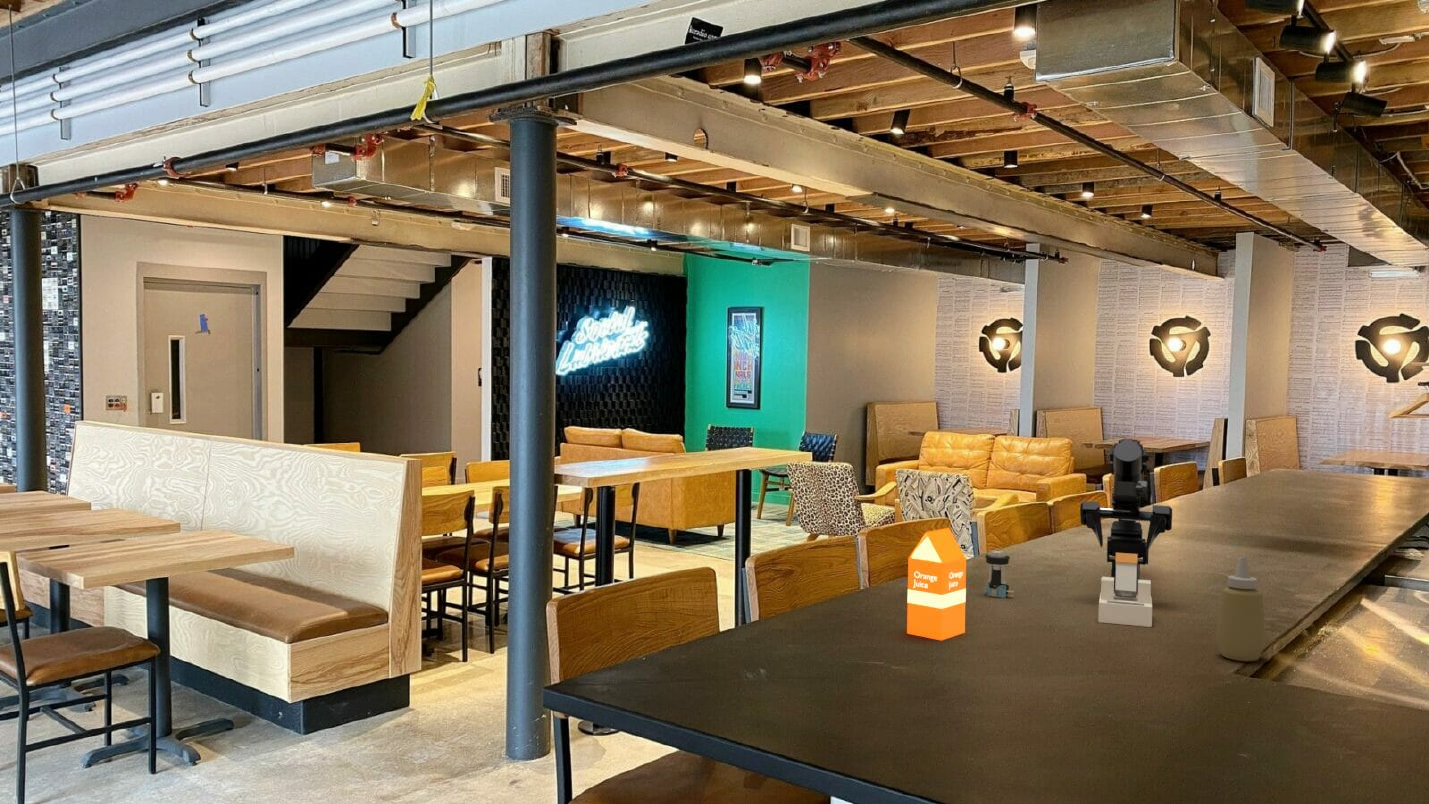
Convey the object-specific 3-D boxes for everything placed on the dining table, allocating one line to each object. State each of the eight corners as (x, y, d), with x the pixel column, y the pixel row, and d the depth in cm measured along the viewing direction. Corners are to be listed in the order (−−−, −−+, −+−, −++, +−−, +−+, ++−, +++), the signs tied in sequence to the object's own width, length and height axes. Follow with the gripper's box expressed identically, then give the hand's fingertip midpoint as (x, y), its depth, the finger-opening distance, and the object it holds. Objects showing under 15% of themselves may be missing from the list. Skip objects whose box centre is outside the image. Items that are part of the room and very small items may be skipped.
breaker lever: (1114, 598, 218) (1115, 557, 222) (1136, 600, 217) (1137, 558, 221) (1114, 593, 216) (1115, 552, 220) (1136, 595, 214) (1137, 554, 218)
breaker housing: (1100, 611, 224) (1100, 573, 224) (1151, 615, 220) (1151, 577, 220) (1098, 622, 214) (1099, 582, 213) (1151, 627, 210) (1152, 587, 210)
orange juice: (965, 632, 204) (967, 529, 203) (941, 640, 197) (943, 534, 197) (930, 625, 209) (932, 525, 209) (905, 633, 203) (907, 529, 202)
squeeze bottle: (1261, 654, 190) (1264, 555, 190) (1269, 666, 182) (1272, 562, 182) (1212, 650, 193) (1215, 552, 192) (1218, 661, 185) (1220, 559, 185)
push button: (1018, 596, 238) (1019, 552, 237) (1008, 600, 233) (1009, 555, 233) (991, 592, 242) (991, 549, 242) (980, 596, 238) (981, 551, 238)
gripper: (1081, 465, 234) (1076, 522, 225) (1173, 469, 227) (1172, 528, 217) (1083, 495, 242) (1078, 552, 232) (1171, 500, 234) (1171, 559, 225)
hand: (1124, 547), depth 227 cm, fingers open, 9 cm apart
